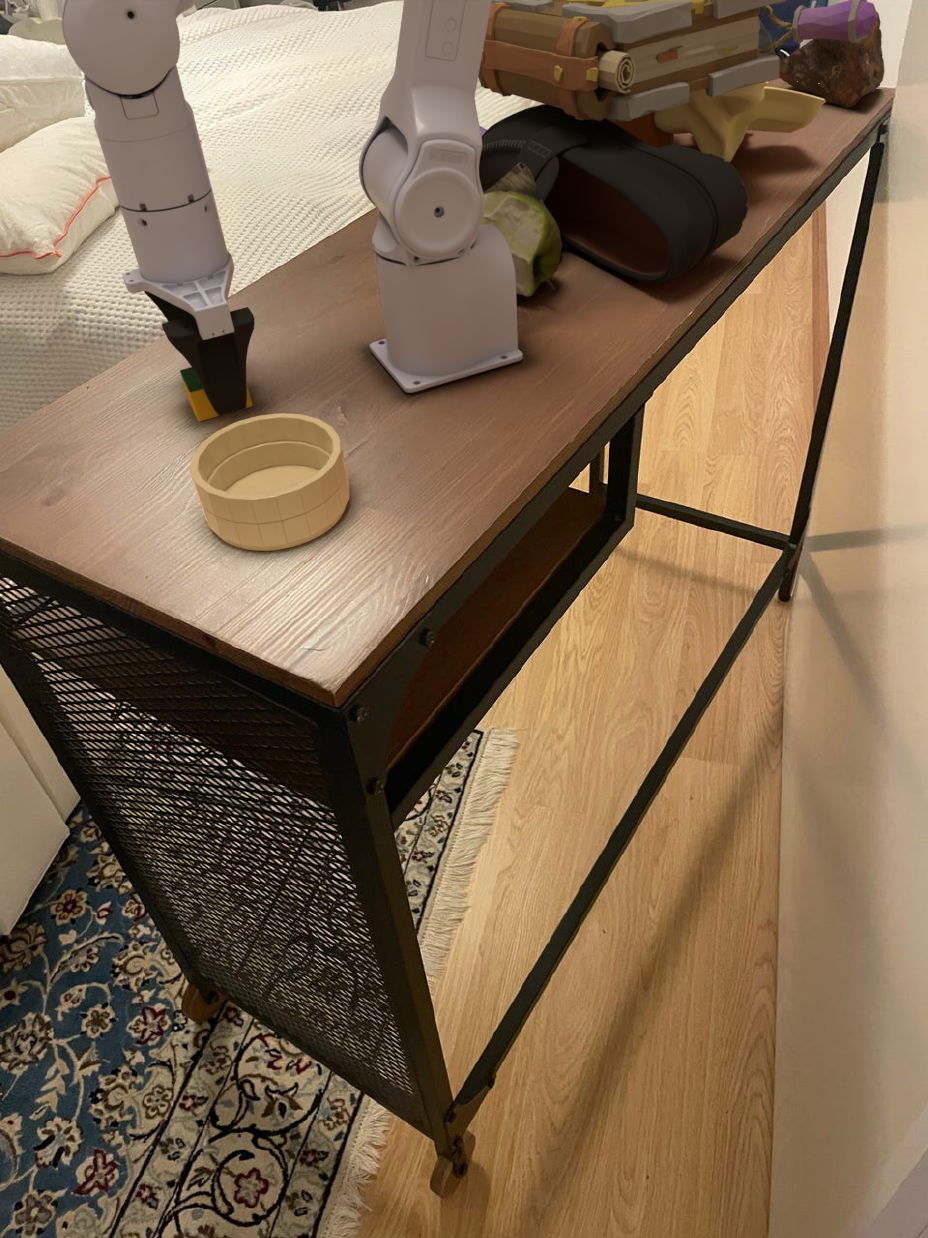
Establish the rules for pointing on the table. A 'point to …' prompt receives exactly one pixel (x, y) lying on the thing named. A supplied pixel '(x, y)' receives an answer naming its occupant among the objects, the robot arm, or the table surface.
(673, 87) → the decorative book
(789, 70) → the rock
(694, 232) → the loafer
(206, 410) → the sponge
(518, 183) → the fruit
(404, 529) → the table surface
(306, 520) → the bowl
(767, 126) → the beige curved piece
